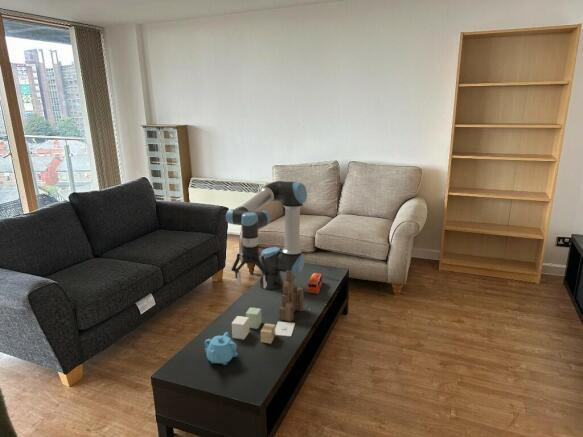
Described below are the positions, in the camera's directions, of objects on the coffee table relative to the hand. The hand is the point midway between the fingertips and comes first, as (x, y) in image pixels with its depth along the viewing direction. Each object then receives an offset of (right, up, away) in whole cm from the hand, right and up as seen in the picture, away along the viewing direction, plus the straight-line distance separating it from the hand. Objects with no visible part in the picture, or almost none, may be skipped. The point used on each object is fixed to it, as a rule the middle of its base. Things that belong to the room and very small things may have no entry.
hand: (252, 285), depth 199 cm
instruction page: (+16, -22, +2) cm, 27 cm away
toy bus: (+34, -9, +46) cm, 58 cm away
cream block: (-5, -24, -2) cm, 24 cm away
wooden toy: (+20, -18, +16) cm, 31 cm away
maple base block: (+8, -24, -6) cm, 26 cm away
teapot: (-12, -29, -21) cm, 38 cm away
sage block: (0, -21, +6) cm, 22 cm away
